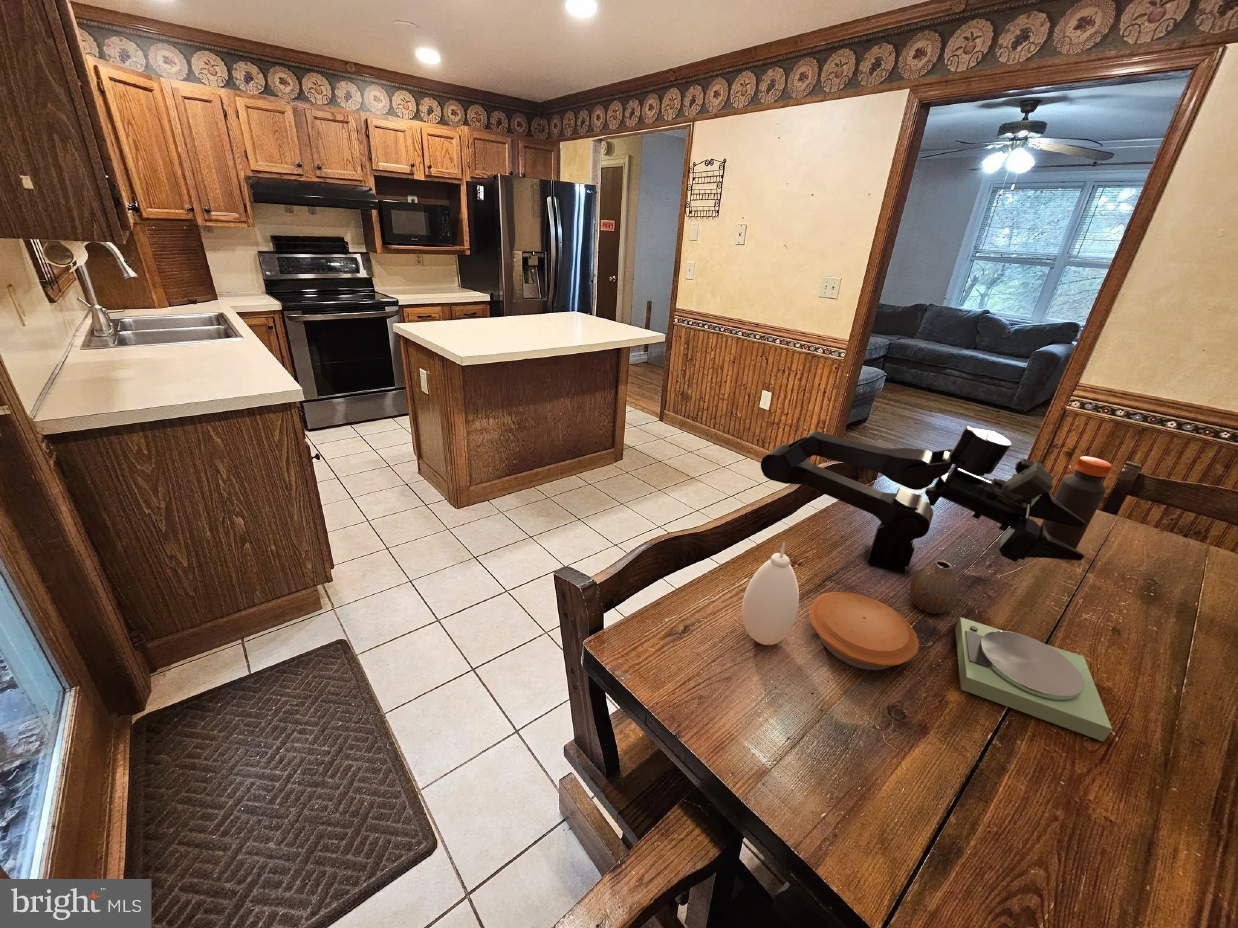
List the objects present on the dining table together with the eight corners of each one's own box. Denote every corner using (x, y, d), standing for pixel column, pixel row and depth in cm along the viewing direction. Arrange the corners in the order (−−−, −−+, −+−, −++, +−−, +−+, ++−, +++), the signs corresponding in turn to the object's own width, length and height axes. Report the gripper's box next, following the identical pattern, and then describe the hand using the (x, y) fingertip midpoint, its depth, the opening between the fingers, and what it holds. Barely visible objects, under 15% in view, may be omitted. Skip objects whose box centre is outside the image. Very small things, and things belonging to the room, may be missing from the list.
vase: (956, 623, 85) (974, 580, 81) (911, 615, 86) (928, 573, 82) (941, 596, 91) (958, 555, 87) (900, 589, 92) (914, 549, 88)
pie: (903, 622, 84) (912, 599, 82) (920, 696, 71) (931, 670, 69) (805, 598, 89) (811, 575, 86) (803, 664, 75) (811, 638, 73)
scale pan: (983, 676, 71) (985, 672, 71) (975, 623, 81) (977, 620, 81) (1091, 714, 66) (1094, 710, 66) (1069, 653, 76) (1071, 649, 76)
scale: (960, 689, 72) (967, 675, 71) (954, 628, 84) (960, 615, 83) (1103, 741, 66) (1113, 727, 65) (1076, 668, 77) (1084, 654, 76)
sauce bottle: (754, 614, 84) (774, 521, 77) (797, 640, 80) (823, 543, 72) (727, 637, 79) (745, 540, 72) (771, 666, 74) (796, 565, 67)
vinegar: (1070, 545, 109) (1114, 460, 100) (1075, 560, 104) (1122, 472, 95) (1032, 534, 112) (1071, 451, 103) (1034, 549, 107) (1076, 462, 98)
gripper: (996, 487, 76) (1122, 540, 70) (1010, 433, 88) (1117, 474, 82) (958, 537, 84) (1068, 589, 77) (975, 481, 96) (1071, 522, 89)
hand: (1083, 540), depth 81 cm, fingers open, 9 cm apart
